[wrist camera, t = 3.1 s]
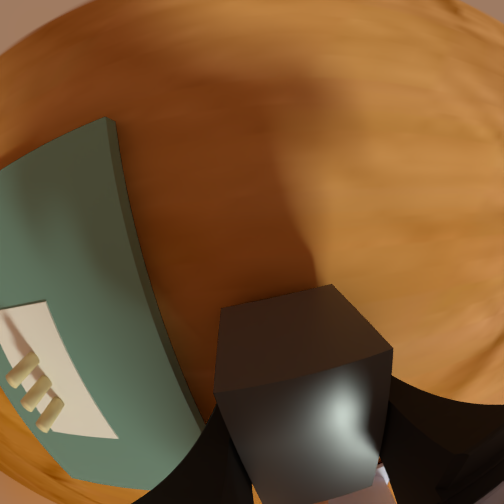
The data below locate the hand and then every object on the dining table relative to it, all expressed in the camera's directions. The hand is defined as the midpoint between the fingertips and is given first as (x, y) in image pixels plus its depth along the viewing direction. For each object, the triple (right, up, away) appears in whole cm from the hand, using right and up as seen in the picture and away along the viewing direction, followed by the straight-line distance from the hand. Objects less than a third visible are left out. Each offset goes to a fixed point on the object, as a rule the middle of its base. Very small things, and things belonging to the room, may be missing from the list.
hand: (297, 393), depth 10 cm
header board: (-12, -1, +2) cm, 12 cm away
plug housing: (0, -1, +2) cm, 2 cm away
